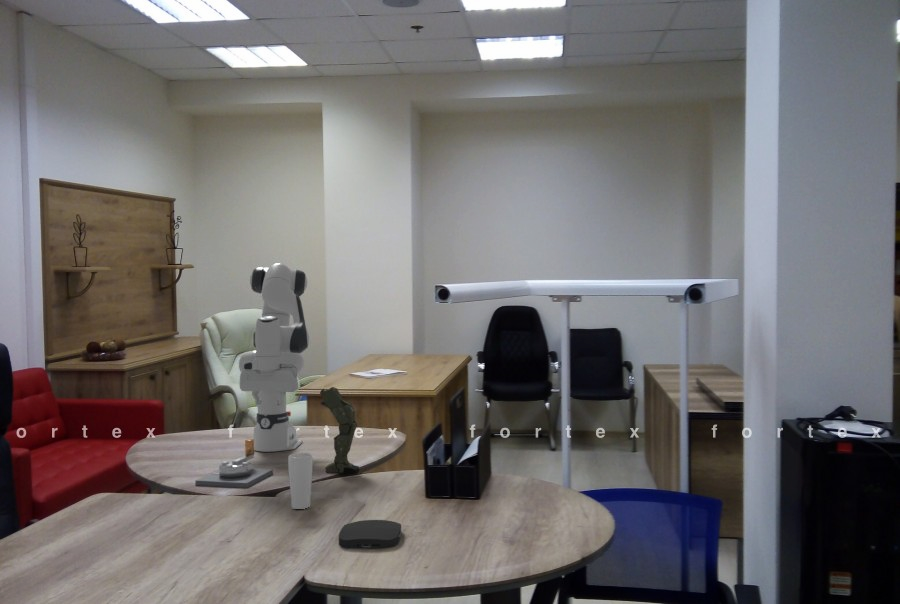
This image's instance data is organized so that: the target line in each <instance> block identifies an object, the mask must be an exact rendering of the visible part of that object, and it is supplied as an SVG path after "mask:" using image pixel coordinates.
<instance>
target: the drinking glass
mask: <svg viewBox="0 0 900 604" xmlns="http://www.w3.org/2000/svg"><path fill="white" fill-rule="evenodd" d="M287 459H288V460H287V461H288V462H287V469H288V479H289V491H290V501H291V502H290V503H291V506H290V507H291V509H293V510H295V509H304V508H307V509H309V508H310V507H311V502H312V501H311V497H312V496H311V495H312V484H313V483H312V482H313V469H314V468H313V465H314V463H313V454H312V453H309V452H295V453H291V454H289V455H288V458H287ZM308 507H309V508H308ZM304 510H305V509H304Z"/></svg>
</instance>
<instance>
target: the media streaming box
mask: <svg viewBox="0 0 900 604" xmlns="http://www.w3.org/2000/svg"><path fill="white" fill-rule="evenodd" d="M401 537H402V524H401V523H399V522H396V521H392V520H387V519H365V520H359V521H357V520H356V521H353V522H350V523H346V524H344V525H343V526H342V528H341V529H340V531H339V534H338V546H339V547H341V548H344V549H387V548H389V549H390V548H393V547H396V546H397V545H399V543H400V540H401Z"/></svg>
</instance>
